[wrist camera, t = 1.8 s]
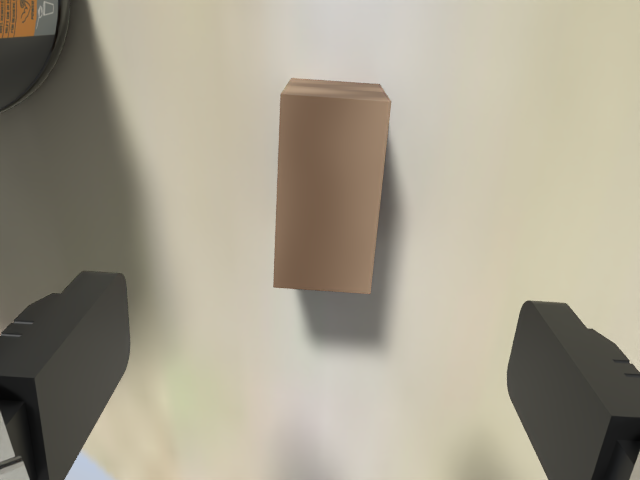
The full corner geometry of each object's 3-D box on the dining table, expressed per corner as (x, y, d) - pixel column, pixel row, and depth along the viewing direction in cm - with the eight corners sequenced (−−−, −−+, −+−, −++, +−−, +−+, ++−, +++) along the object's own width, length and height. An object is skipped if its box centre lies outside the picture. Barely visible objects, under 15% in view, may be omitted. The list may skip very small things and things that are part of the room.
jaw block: (379, 84, 23) (391, 101, 19) (363, 243, 26) (370, 294, 21) (291, 78, 23) (280, 94, 19) (284, 238, 26) (273, 287, 21)
